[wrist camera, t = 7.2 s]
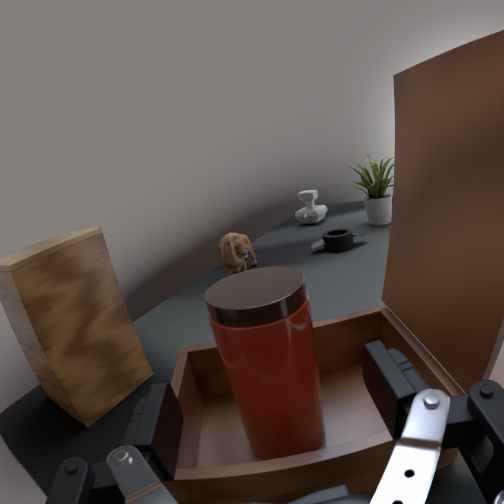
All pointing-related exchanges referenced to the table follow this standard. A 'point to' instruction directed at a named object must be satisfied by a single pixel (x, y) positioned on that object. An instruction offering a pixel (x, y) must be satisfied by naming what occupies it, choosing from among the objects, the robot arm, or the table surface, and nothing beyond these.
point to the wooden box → (335, 415)
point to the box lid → (450, 207)
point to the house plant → (376, 193)
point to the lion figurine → (235, 253)
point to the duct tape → (335, 240)
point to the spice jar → (270, 358)
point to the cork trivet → (45, 249)
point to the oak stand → (76, 329)
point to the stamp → (310, 208)
